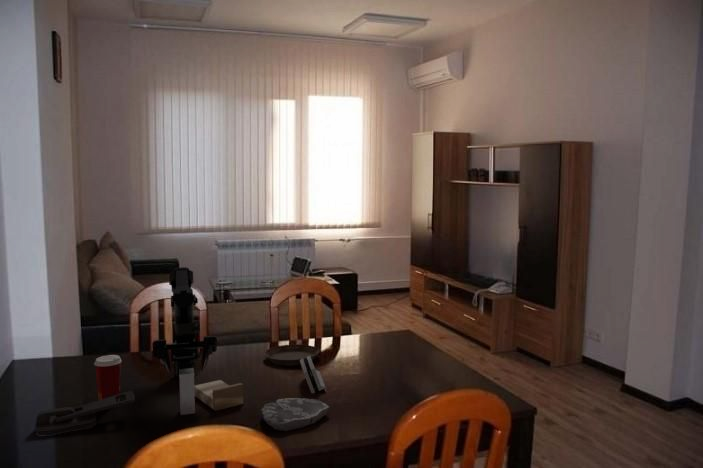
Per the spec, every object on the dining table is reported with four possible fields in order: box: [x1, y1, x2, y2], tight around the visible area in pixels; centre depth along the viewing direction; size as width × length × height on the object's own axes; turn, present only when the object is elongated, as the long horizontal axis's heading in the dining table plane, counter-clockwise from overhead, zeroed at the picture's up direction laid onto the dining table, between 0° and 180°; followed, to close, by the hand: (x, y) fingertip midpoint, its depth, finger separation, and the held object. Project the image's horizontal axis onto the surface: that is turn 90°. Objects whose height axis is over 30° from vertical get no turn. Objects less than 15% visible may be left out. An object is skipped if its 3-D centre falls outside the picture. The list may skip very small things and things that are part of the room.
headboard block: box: [194, 379, 244, 411], centre depth 177 cm, size 16×9×6 cm, turn 38°
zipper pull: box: [34, 390, 136, 436], centre depth 159 cm, size 9×7×25 cm
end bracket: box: [178, 368, 196, 416], centre depth 166 cm, size 5×4×12 cm
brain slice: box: [260, 397, 330, 432], centre depth 163 cm, size 20×17×3 cm
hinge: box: [300, 356, 328, 394], centre depth 191 cm, size 17×5×10 cm, turn 10°
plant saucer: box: [264, 343, 320, 367], centre depth 219 cm, size 21×21×3 cm
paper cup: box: [93, 354, 122, 402], centre depth 174 cm, size 8×8×14 cm
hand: (186, 371), depth 171 cm, fingers open, 9 cm apart
